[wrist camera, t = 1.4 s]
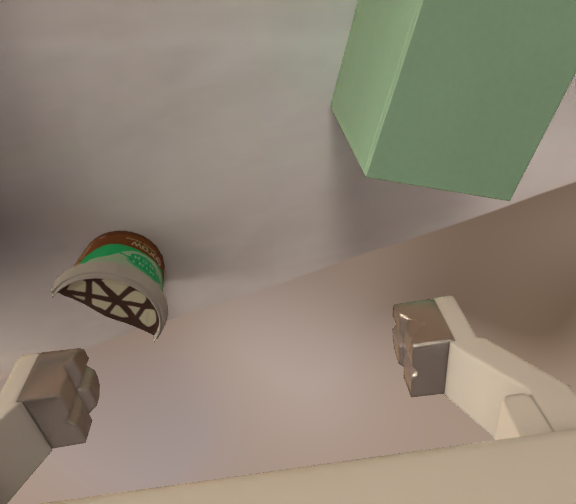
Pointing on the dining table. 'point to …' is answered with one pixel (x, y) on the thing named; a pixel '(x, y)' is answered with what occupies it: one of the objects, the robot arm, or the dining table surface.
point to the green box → (454, 89)
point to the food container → (120, 280)
